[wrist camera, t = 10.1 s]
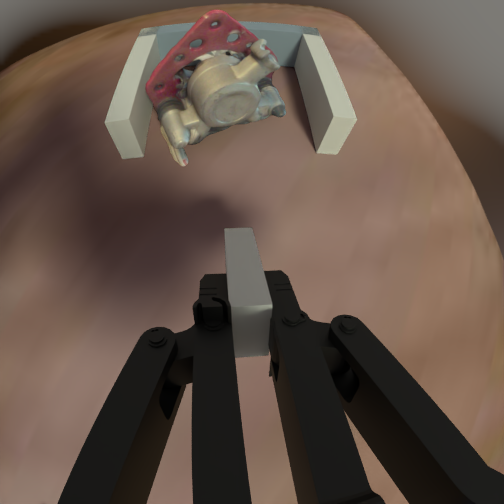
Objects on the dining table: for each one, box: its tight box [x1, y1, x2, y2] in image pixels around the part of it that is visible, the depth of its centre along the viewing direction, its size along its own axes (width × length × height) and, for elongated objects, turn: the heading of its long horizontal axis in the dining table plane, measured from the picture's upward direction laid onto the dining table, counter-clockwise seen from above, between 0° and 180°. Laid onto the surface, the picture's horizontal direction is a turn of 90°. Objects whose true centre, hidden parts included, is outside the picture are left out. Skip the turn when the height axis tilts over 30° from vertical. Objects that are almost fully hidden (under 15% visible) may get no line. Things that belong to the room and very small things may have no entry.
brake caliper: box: [145, 10, 286, 166], centre depth 20 cm, size 11×11×12 cm
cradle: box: [105, 22, 357, 159], centre depth 23 cm, size 15×19×5 cm
